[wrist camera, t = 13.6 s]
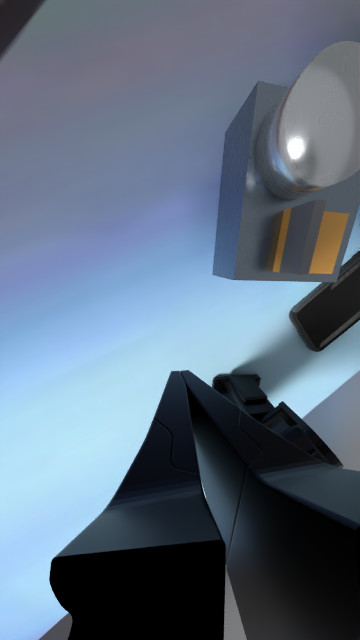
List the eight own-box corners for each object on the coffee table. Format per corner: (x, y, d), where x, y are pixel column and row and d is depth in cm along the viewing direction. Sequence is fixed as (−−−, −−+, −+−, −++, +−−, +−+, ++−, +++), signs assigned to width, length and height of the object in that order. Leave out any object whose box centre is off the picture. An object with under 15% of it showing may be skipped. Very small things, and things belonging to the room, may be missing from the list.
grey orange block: (272, 271, 16) (323, 273, 16) (298, 274, 13) (357, 276, 14) (284, 210, 14) (339, 215, 15) (315, 199, 12) (380, 207, 12)
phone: (410, 278, 24) (316, 355, 25) (399, 277, 25) (309, 351, 26) (395, 225, 21) (290, 314, 22) (383, 226, 22) (283, 311, 23)
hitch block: (294, 277, 22) (336, 282, 17) (212, 274, 20) (233, 279, 15) (323, 149, 18) (386, 110, 13) (225, 132, 16) (258, 80, 11)
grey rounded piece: (285, 214, 18) (364, 189, 12) (227, 208, 17) (278, 178, 11) (300, 137, 16) (403, 56, 10) (236, 125, 15) (304, 26, 9)
